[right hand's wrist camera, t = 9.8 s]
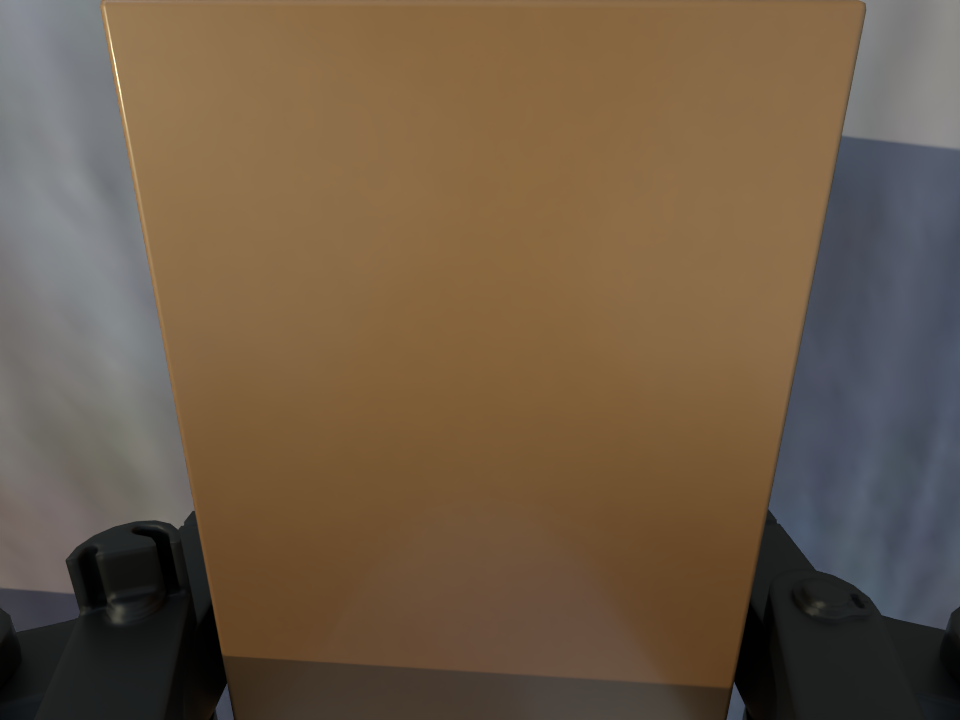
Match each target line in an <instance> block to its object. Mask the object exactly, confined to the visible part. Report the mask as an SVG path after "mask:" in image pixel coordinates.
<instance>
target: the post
mask: <svg viewBox="0 0 960 720" xmlns="http://www.w3.org/2000/svg"><path fill="white" fill-rule="evenodd" d="M100 8H101V13H102V19H103V24H104V29H105V35H106V40H107V45H108V51H109V56H110V61H111V67H112V72H113V77H114V83H115V88H116V93H117V99H118V104H119V109H120V115H121V120H122V125H123V131H124V136H125V141H126V147H127V152H128V157H129V163H130V168H131V173H132V178H133V184H134V189H135V194H136V200H137V205H138V210H139V216H140V221H141V226H142V232H143V237H144V242H145V248H146V253H147V258H148V264H149V269H150V274H151V280H152V285H153V290H154V296H155V301H156V306H157V312H158V317H159V322H160V328H161V333H162V338H163V343H164V349H165V354H166V359H167V365H168V370H169V375H170V381H171V386H172V391H173V397H174V402H175V407H176V413H177V418H178V423H179V429H180V434H181V439H182V445H183V450H184V455H185V461H186V466H187V471H188V477H189V482H190V487H191V493H192V498H193V503H194V508H195V514H196V519H197V524H198V530H199V535H200V540H201V546H202V551H203V556H204V562H205V567H206V572H207V578H208V583H209V588H210V594H211V599H212V604H213V610H214V615H215V620H216V626H217V631H218V636H219V642H220V647H221V652H222V658H223V663H224V668H225V674H226V679H227V684H228V689H229V695H230V700H231V705H232V711H233V716H234V720H726V719H727V714H728V709H729V704H730V699H731V694H732V689H733V684H734V679H735V674H736V669H737V664H738V658H739V653H740V648H741V643H742V638H743V633H744V628H745V623H746V618H747V613H748V608H749V603H750V597H751V592H752V587H753V582H754V577H755V572H756V567H757V562H758V557H759V552H760V547H761V542H762V537H763V531H764V526H765V521H766V516H767V511H768V506H769V501H770V496H771V491H772V486H773V481H774V476H775V471H776V465H777V460H778V455H779V450H780V445H781V440H782V435H783V430H784V425H785V420H786V415H787V410H788V405H789V399H790V394H791V389H792V384H793V379H794V374H795V369H796V364H797V359H798V354H799V349H800V344H801V339H802V333H803V328H804V323H805V318H806V313H807V308H808V303H809V298H810V293H811V288H812V283H813V278H814V273H815V267H816V262H817V257H818V252H819V247H820V242H821V237H822V232H823V227H824V222H825V217H826V212H827V207H828V201H829V196H830V191H831V186H832V181H833V176H834V171H835V166H836V161H837V156H838V151H839V146H840V141H841V135H842V130H843V125H844V120H845V115H846V110H847V105H848V100H849V95H850V90H851V85H852V80H853V75H854V69H855V64H856V59H857V54H858V49H859V44H860V39H861V34H862V29H863V24H864V19H865V14H866V4H865V3H864V2H861V1H859V0H102V1H101V6H100Z"/></svg>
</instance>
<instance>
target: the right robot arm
mask: <svg viewBox="0 0 960 720" xmlns="http://www.w3.org/2000/svg"><path fill="white" fill-rule="evenodd" d="M66 564H67V567H68V571H69V574H70V578H71V581H72V585H73V588H74V592H75V595H76V599H77V602H78V606H79V609H80V615H79V617H78V618H77V619H73V620H70V621H66V622H62V623H57V624H53V625H48V626H44V627H39V628H35V629H30V630H26V631H21V632H17V633H16V632H15V629H14V626H13V623H12V620H11V617H10V615H8V614H7V613H6V612H5V611H3V610H2V609H1V608H0V720H218V719H217V714H216V709H215V708H216V706H217V704H218V701H219V699H220V697H221V695H222V693H223V691H224V689H225V686H226V684H227V679H226V674H225V668H224V663H223V658H222V652H221V647H220V642H219V636H218V631H217V626H216V620H215V615H214V610H213V604H212V599H211V594H210V588H209V583H208V578H207V572H206V567H205V562H204V556H203V551H202V546H201V540H200V535H199V530H198V524H197V519H196V514H195V511H192V513H191V514H190V515H189V517H188V518H187V519H186V521H185V522H184V526H181V527H180V528H179V530H178V529H176V528H175V527H174V526H173V525H171V524H170V523H165V522H160V521H156V520H154V521H136V522H132V523H128V524H124V525H120V526H115V527H113V528H110V529H108V530H106V531H103V532H101V533H99V534H97V535H94V536H93V537H91V538H90V539H88V540H87V541H85V542H84V543H82V544H81V545H79V546H78V547H76V549H75V550H74V551H73V552H72V553H71V554H70V556H69V557H68V558H67V559H66ZM734 682H735V684H736V687H737V689H738V691H739V693H740V695H741V697H742V699H743V702H744V704H745V709H744V714H743V719H742V720H960V607H959V608H957V609H956V610H955V611H954V612H952V613H951V616H950V619H949V622H948V625H947V628H946V630H942V629H938V628H933V627H928V626H924V625H919V624H915V623H910V622H906V621H901V620H897V619H893V618H889V617H886V616H882V615H881V614H880V612H879V610H878V609H877V608H876V606H875V605H874V603H873V602H872V601H871V599H870V598H869V597H868V596H867V595H865V594H864V593H863V592H861V591H860V590H859V589H858V588H856V587H855V586H854V585H852V584H850V583H848V582H846V581H844V580H842V579H840V578H838V577H836V576H834V575H830V574H827V573H823V572H819V571H816V570H815V569H814V567H813V566H812V565H811V563H810V562H809V561H808V560H807V558H806V557H805V556H804V554H803V553H802V552H801V551H800V549H799V548H798V547H797V545H796V544H795V543H794V542H793V540H792V539H791V538H790V536H789V535H788V534H787V533H786V531H785V530H784V529H783V528H782V526H781V525H780V524H777V520H776V519H775V517H774V516H773V515H772V513H771V512H770V511H769V510H768V511H767V516H766V521H765V526H764V531H763V537H762V542H761V547H760V552H759V557H758V562H757V567H756V572H755V577H754V582H753V587H752V592H751V597H750V603H749V608H748V613H747V618H746V623H745V628H744V633H743V638H742V643H741V648H740V653H739V658H738V664H737V669H736V674H735V679H734Z"/></svg>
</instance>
